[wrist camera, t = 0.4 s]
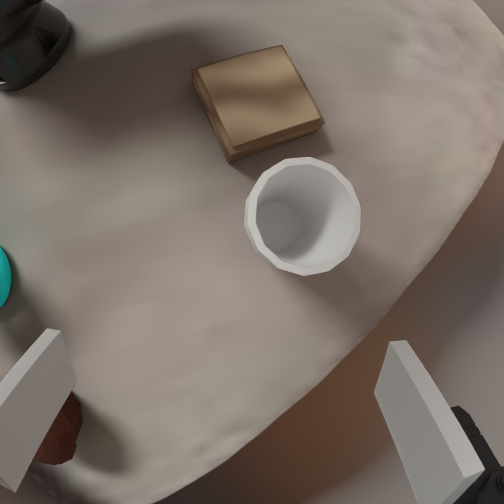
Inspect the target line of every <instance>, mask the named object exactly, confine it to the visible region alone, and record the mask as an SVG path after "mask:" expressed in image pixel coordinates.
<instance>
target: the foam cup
mask: <svg viewBox="0 0 504 504" xmlns="http://www.w3.org/2000/svg"><path fill="white" fill-rule="evenodd" d="M360 218H361V207H360V204H359V202H358V199H357V197H356V194H355V192H354V189H353V187H352V184H351V183H350V182H349V181H348V180H347V179H346V178H345V177H344V176H343V175H342V174H341V173H340V172H339V171H338V170H337V169H336V168H335V167H334V166H333V165H330V164H328V163H325V162H322V161H320V160H317V159H315V158H312V157H301V158H290V159H284V160H282V161H281V162H279V163H277V164H276V165H274V166H273V167H271V168H270V169H268V170H266V171H265V172H263V173H262V175H261V176H260V178H259V179H258V181H257V182H256V184H255V186H254V187H253V189H252V191H251V193H250V194H249V196H248V198H247V199H246V207H245V221H244V226H245V229H246V231H247V234H248V237H249V239H250V242H251V244H252V247H253V249H254V250H255V251H256V252H257V253H258V254H259V255H260V256H261V257H262V258H263V259H264V260H265V261H267V262H268V263H269V264H270V265H271V266H272V267H274V268H278V269H281V270H285V271H288V272H291V273H295V274H298V275H302V276H306V275H311V274H317V273H322V272H327V271H330V270H331V269H332V268H334V267H335V266H336V265H338V264H339V263H340V262H341V261H343V260H344V259H345V258H347V257H348V256H349V254H350V252H351V250H352V248H353V246H354V244H355V242H356V240H357V238H358V236H359V234H360Z"/></svg>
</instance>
